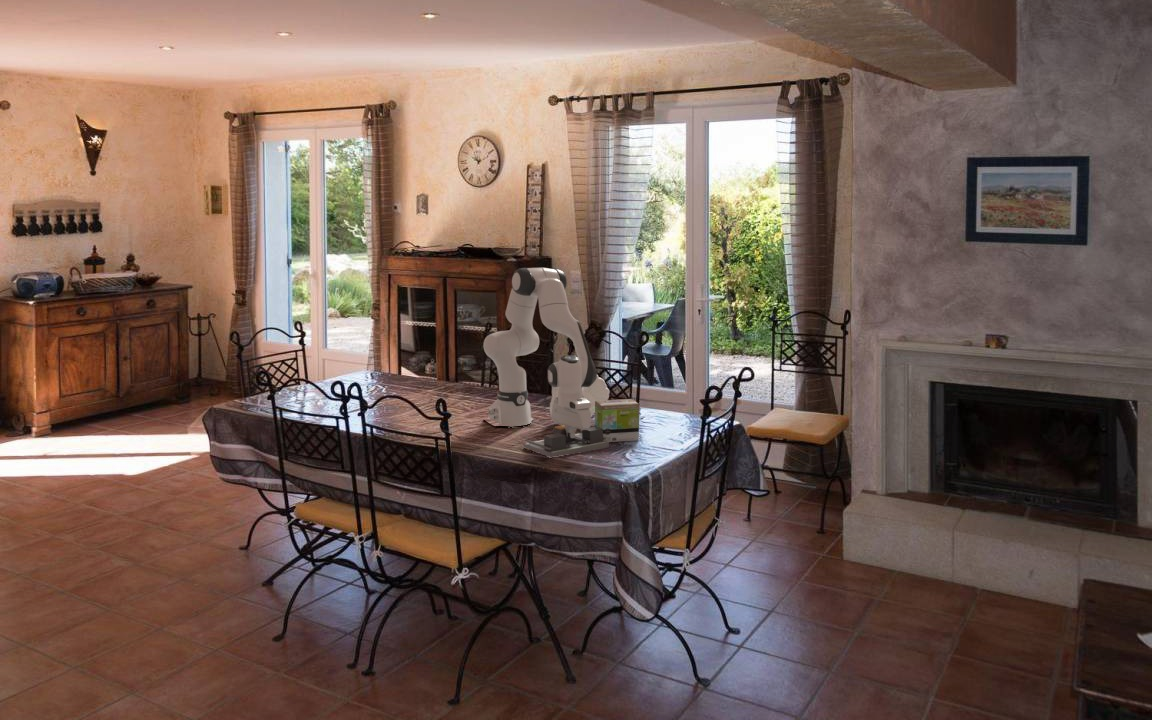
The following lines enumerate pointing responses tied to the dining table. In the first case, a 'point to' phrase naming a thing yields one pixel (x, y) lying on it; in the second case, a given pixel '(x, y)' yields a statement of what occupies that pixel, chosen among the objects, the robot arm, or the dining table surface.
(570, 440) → the block
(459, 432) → the dining table surface
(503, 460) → the dining table surface
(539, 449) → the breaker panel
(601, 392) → the decorative rooster
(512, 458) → the dining table surface
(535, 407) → the dining table surface
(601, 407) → the tea box
